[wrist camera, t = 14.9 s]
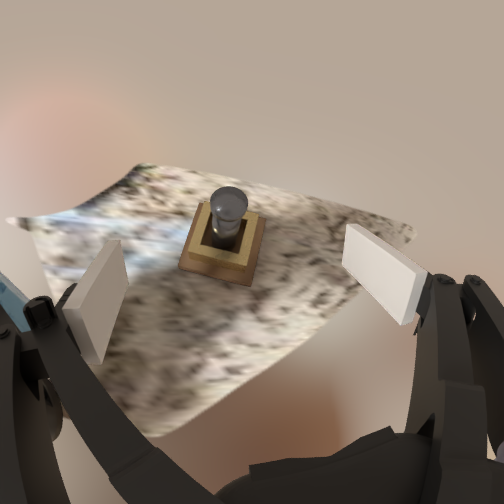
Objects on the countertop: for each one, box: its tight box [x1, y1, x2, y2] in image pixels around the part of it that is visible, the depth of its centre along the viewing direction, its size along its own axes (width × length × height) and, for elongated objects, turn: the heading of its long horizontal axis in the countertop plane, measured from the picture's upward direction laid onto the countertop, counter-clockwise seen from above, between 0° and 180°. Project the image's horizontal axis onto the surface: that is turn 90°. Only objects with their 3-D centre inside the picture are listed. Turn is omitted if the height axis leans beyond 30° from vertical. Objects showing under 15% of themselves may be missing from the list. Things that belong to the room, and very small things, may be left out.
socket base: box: [178, 203, 266, 287], centre depth 47 cm, size 12×12×2 cm
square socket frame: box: [188, 201, 259, 273], centre depth 45 cm, size 9×9×4 cm
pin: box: [210, 186, 248, 252], centre depth 41 cm, size 5×5×12 cm
